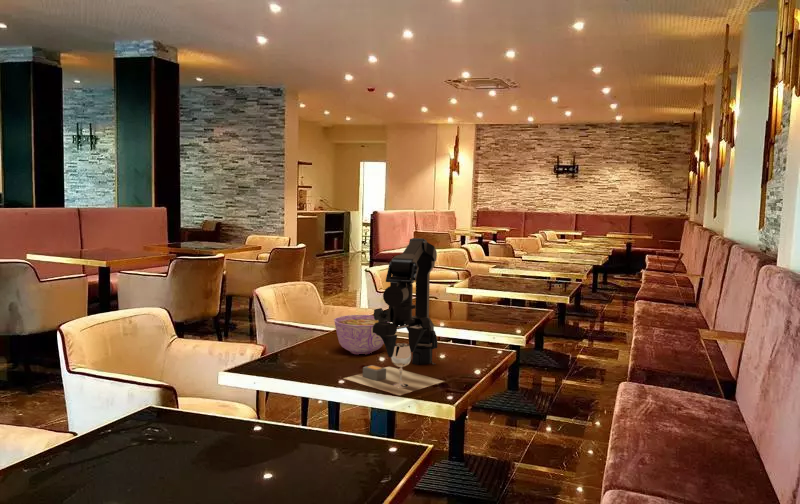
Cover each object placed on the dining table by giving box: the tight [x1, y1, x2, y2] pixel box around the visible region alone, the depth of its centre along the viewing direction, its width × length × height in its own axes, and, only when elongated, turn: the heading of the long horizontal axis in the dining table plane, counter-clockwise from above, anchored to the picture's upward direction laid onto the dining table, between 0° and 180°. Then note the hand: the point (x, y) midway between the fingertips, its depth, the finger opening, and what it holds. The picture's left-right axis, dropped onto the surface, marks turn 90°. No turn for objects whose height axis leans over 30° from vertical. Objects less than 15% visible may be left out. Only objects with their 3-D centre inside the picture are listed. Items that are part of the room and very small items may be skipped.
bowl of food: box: [333, 314, 391, 355], centre depth 234 cm, size 20×20×12 cm
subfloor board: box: [343, 366, 445, 396], centre depth 196 cm, size 20×23×1 cm
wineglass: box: [390, 342, 412, 388], centre depth 190 cm, size 6×6×12 cm
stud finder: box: [362, 364, 386, 381], centre depth 198 cm, size 4×6×3 cm, turn 47°
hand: (401, 354), depth 189 cm, fingers open, 9 cm apart
